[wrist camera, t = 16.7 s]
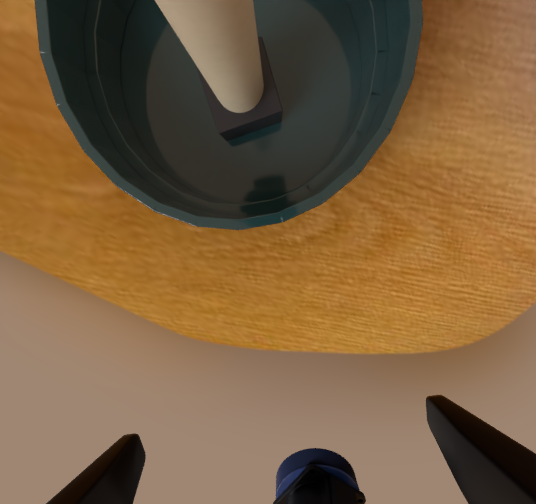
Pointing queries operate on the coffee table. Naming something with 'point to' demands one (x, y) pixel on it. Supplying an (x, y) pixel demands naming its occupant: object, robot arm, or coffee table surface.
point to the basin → (199, 113)
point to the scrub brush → (228, 62)
